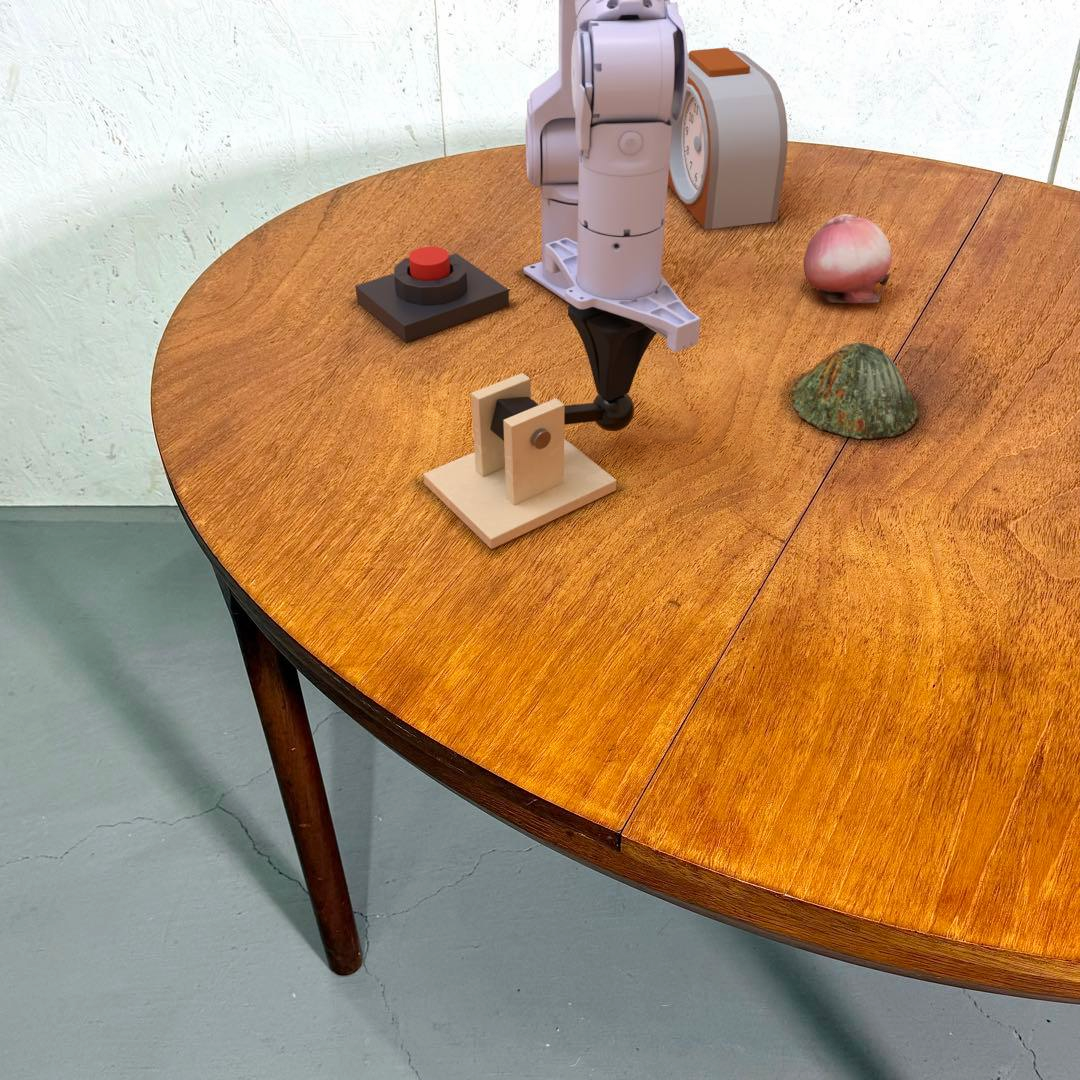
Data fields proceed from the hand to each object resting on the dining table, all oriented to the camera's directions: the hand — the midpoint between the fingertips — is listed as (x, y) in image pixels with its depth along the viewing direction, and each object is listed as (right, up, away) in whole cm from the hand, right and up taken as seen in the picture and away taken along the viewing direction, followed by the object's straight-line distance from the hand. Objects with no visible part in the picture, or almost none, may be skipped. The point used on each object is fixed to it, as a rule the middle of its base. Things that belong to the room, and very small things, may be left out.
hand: (613, 392), depth 78 cm
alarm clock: (+14, +26, +37) cm, 48 cm away
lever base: (-7, -7, 0) cm, 10 cm away
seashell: (+20, 0, +8) cm, 21 cm away
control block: (-15, +11, +20) cm, 27 cm away
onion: (+23, +12, +21) cm, 33 cm away
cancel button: (-15, +13, +18) cm, 27 cm away
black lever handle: (-4, -3, -1) cm, 5 cm away
